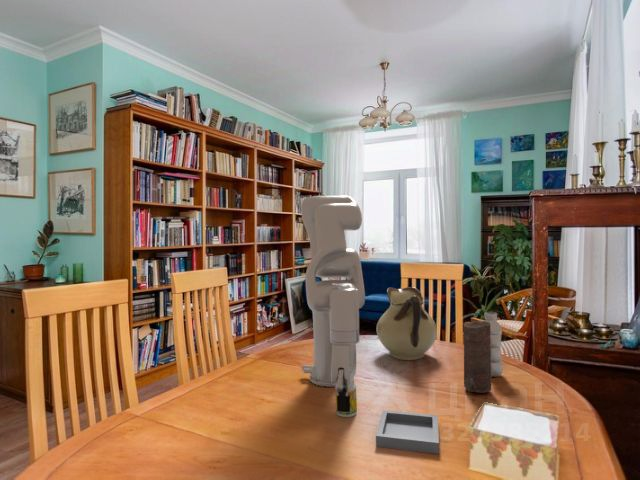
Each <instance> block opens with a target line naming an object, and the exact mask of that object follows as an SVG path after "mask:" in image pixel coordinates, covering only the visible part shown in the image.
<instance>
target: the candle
mask: <svg viewBox="0 0 640 480" xmlns="http://www.w3.org/2000/svg"><path fill="white" fill-rule="evenodd" d="M463 387H464V389H466V390H467V391H468V392H470V393H475V394H476V393H480V394H484V393H489V392H491V391H492V376H491V346H490V323H489V322H486V321H485V320H477V321H476V320H473V321H465V322H464V323H463Z"/></svg>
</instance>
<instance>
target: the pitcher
mask: <svg viewBox="0 0 640 480" xmlns="http://www.w3.org/2000/svg"><path fill="white" fill-rule="evenodd" d="M386 295H387V298H388V301H389V303H390V305H389V307H388V308H387V309H386V311H384V313H383V314H382V315H381V316H380V318H379V320H378V321H377V324H376V329H375V330H376V334H377V335H376V336H377V338H378V340H379V342H380V343H381V344H382V345H383V347H384V348H385V349H386V350H387V351H388V352H389V355H390V357H392V358H393V359H396V360H403V361H417V360H420V359H422V358H424V356H425V355H424V354H425V353H427V352H428V351H429V350H430V349H431V348H432V347H433V346H434V344H435V342H436V339H437V335H438V329H437V324H436V322H435V320H434V319H433V317H432V316H431V315H430V314H429V313H428V312H427V311H426V310H425V308H424V306H423V305H424V302H425V301H424V297H423V295H422V293H421V291H420V290H419V289H418V288H416V287H415V286H414V287H413V286H410V287H409V286H408V287H404V288H395V287H388V288H387V290H386Z"/></svg>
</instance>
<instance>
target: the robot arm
mask: <svg viewBox="0 0 640 480" xmlns="http://www.w3.org/2000/svg"><path fill="white" fill-rule="evenodd" d="M300 212H301V213H300V214H301V218H302V222H303V226H304V228H305V230H306V233H307V235H308V238H309V245H310V257H311V259H310V262H309V264H308V265H307V268H306V272H305V278H304V279H305V292H306V294H305V295H306V301H307V305H308V308H309V310H311V311H312V325H313V326H312V328H313V329H312V331H313V361H314V364H311V365H309V364H302V365H301V366H302V367H301V371H302V372H303V373H305V374H310V375H309V382H310V381H311V382H312V383H311V382H310V383H311V384H313V383H314V384H313V385H315V384H316V385H315V386H318V385H319V387H324V386H326V388H327V387H329V388H333V387H334V388H335V386H336V384H337V410H338V411H341V412H350V395H349V384H350V383H351V382H352V380H353V383H354V384H355V375H356V374H357V345H356V344H359V342H360V309H362V307H363V306H364V305H365V302H366V301H365V300H366V291H365V284H364V278H363V277H364V275H363V270H362V261H361V258H360V254H359V253H358V252H357V250H356V249H353V248H350V247H349V248H347V242H346V241H347V240H346V235H345V233H346V232H345V231H347V232H348V231H358V230H359V229H360V228H361V226H362V223H363V216H362V211H361V208H360V206H359V205H358V203H357V202H356V201H355V199H354V198H353V197H351V196H348V195H313V196H308V197H305V199H303V200H302V201H301V206H300ZM316 277H318V278H322V279H323V278H325V279H327V278H345V279H331V280H330V279H329V280H328V279H327V280H318V281H316ZM344 380H346V381H347V382H346V383H343V381H344ZM343 385H345V386H346V389H345V388H343Z"/></svg>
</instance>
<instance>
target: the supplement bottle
mask: <svg viewBox="0 0 640 480" xmlns="http://www.w3.org/2000/svg"><path fill="white" fill-rule="evenodd" d="M346 382H347V381H346V380H344V381H343V383H346ZM334 388H335V413H336V415H338V416H339V417H342V418H351V417H354V416H356V414H357V412H358V406H357V405H358V402H357V401H358V399H357V386H356V383H355V382H354V383H353V380H352V382H351V383H350V384H349V395H350V412H341V411H338V410H337V384H336V386H334ZM343 388H345V389H346V386H345V385H343Z"/></svg>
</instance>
